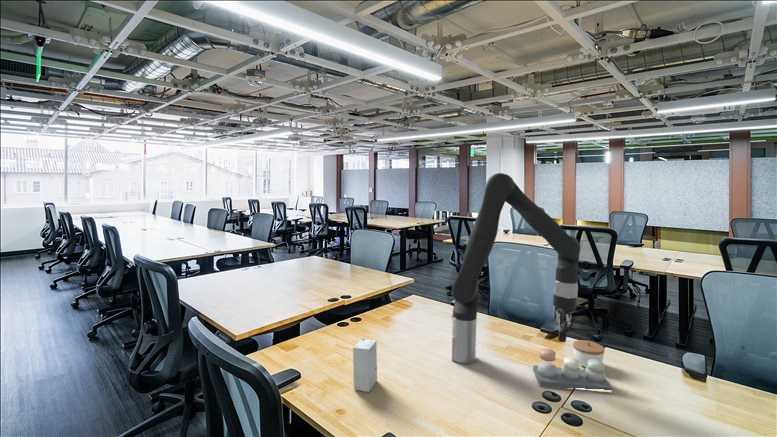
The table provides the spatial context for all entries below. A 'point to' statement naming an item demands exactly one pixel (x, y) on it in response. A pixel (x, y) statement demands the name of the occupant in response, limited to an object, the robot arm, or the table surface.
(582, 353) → the lidded jar
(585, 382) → the control board
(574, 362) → the knob mid
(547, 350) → the knob
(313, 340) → the table surface
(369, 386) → the skincare box
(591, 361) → the knob
